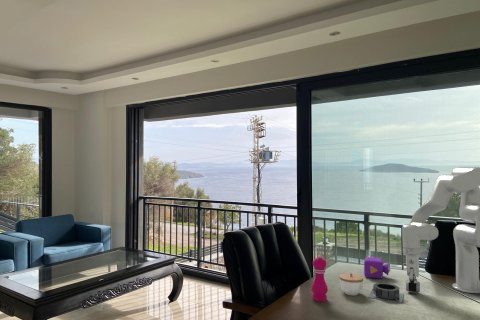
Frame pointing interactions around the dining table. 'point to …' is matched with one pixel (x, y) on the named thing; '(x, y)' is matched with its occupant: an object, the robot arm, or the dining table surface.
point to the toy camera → (375, 268)
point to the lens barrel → (386, 292)
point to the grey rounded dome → (416, 286)
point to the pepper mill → (319, 280)
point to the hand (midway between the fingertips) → (412, 288)
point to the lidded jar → (351, 283)
